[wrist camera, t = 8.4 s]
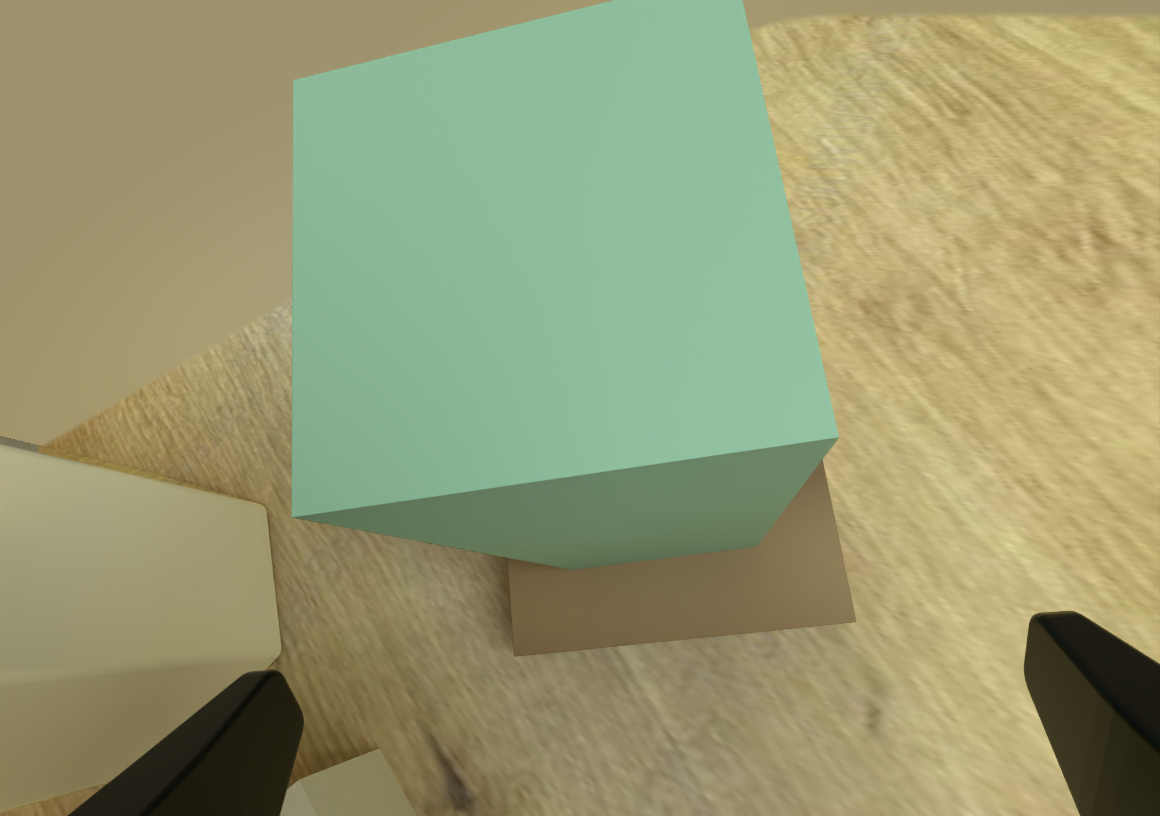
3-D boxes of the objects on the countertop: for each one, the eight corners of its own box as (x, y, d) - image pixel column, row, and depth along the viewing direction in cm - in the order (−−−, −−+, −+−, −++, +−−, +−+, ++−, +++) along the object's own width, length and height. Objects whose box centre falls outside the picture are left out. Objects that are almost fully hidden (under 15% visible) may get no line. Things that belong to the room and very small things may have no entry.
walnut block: (836, 621, 19) (856, 621, 16) (543, 650, 20) (513, 656, 17) (779, 342, 21) (789, 300, 18) (522, 384, 22) (493, 351, 19)
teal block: (756, 546, 17) (838, 437, 5) (572, 570, 17) (292, 517, 6) (725, 368, 18) (735, -30, 7) (553, 396, 19) (293, 79, 7)
